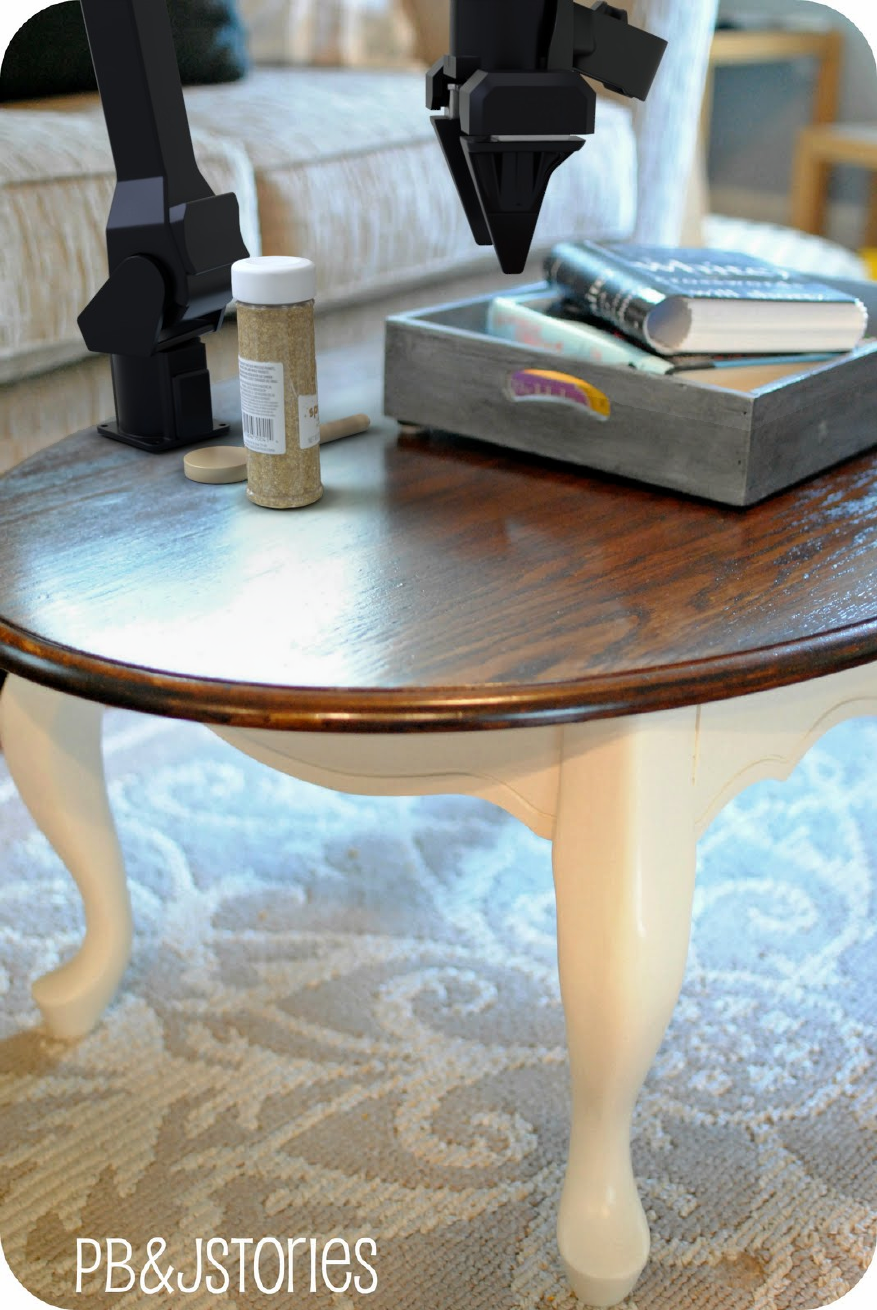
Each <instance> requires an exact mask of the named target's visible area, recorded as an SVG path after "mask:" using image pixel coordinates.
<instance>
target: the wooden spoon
mask: <svg viewBox="0 0 877 1310" xmlns="http://www.w3.org/2000/svg"><path fill="white" fill-rule="evenodd" d="M319 426H320V441H319V445H322V444H325V443H328V442H331V441H336V440H338V439H342V438H345V437H348V436H352V435H356V434H359V433H362V432H365V431H367V430H368V429H369V428H370V426H371V419H370V417H369V416H368V415H367V414H365V413H356V414H353V415H349V416H345V417H341V418H338V419H334V420H331V421H328V422H324V423H319ZM183 471H184V475H185V477H186V478H187V479H189V480H191V481H194V482H197V483H203V484H216V485H218V484H233V483H238V482H241V481H245V480H248V476H247V463H246V446H245V445H244V446H232V445H231V446H230V445H229V446H228V445H217V446H208V447H203V448H198V449H195V450H193V451H190V452H188V453H186V454H185V455H184V457H183Z"/></svg>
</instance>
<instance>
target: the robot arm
mask: <svg viewBox="0 0 877 1310" xmlns="http://www.w3.org/2000/svg"><path fill="white" fill-rule="evenodd" d="M79 2H80V7H81V13H82V17H83V23H84V27H85V32H86V36H87V40H88V41H87V42H88V46H89V50H90V55H91V61H92V66H93V70H94V74H95V79H96V84H97V88H98V89H97V90H98V94H99V98H100V103H101V107H102V108H101V109H102V113H103V117H104V123H105V127H106V131H107V136H108V141H109V146H110V151H111V156H112V160H113V161H112V162H113V165H114V170H115V186H114V191H113V195H112V200H111V203H110V207H109V212H108V216H107V221H106V225H105V230H104V233H105V245H106V260H107V274H108V279H107V280H106V281H105V282H104V283H103V285H102V286H101V287H100V289H98V291H97V292H96V294H95V295H94V296H93V297H92V298H91V300H90V301H89V302H88V304H87V305H86V306H84V308H83V310H82V311H81V312H80V313H79V314H78V316H77V318H76V323H77V326H78V328H79V331H80V334H81V336H82V339H83V341H84V344H85V346H86V349H87V351H89V352H93V353H100V354H101V353H102V354H109V364H110V365H109V366H110V375H111V376H110V377H111V385H112V393H113V405H114V414H115V420H112V421H109V422H105V423H101V424H97V425H96V432H97V434H99V435H102V436H104V437H108V438H111V439H113V440H117V441H120V442H122V443H125V444H127V445H128V444H129V445H131V446H134V447H137V448H140V449H143V450H146V451H149V452H160V451H164V450H168V449H172V448H175V447H180V446H183V445H186V444H190V443H193V442H198V441H201V440H205V439H208V438H212V437H216V436H219V435H223V434H227V433H230V432H231V424H230V423H229V422H226V421H221V420H219V419H215V418H214V413H213V411H214V410H213V399H212V385H211V384H212V383H211V372H210V370H209V368H208V358H207V357H208V355H207V344H206V343H205V342H202V338H201V337H202V336H204V335H207V334H209V333H215V332H218V331H220V330H221V328H222V325H223V320H224V317H225V314H226V313H225V312H226V310H227V306H228V304H230V303H231V302H232V301H233V299H234V297H233V295H232V274H231V267H232V265H233V264H234V263H235V262H236V261H238V260H242V259H246V258H251V254H250V252H249V249H248V248H247V245H246V244H245V241H244V238H243V235H242V231H241V221H240V204H239V201H238V198H237V195H236V192H234V191H229V192H224V193H220V194H216V193H215V192H214V190H213V189H212V187H211V186H210V184H209V182H207V180H206V179H205V177H204V175H203V174H202V172H201V171H200V169H199V167H198V163H197V160H196V155H195V150H194V146H193V140H192V134H191V130H190V124H189V119H188V113H187V107H186V102H185V97H184V92H183V87H182V81H181V76H180V71H179V64H178V60H177V55H176V49H175V48H176V47H175V44H174V38H173V32H172V28H171V27H172V26H171V22H170V17H169V12H168V5H167V0H79ZM448 18H449V19H448V21H449V23H448V25H449V27H448V28H449V30H448V33H449V34H448V53H443V56H440V57H439V58H438V59H437V60H436V61H435V63H434V64H433V65H432V66H431V67H430V68H429V69H428V70H427V71H426V73H425V108H426V109H427V110H429V111H442V108H443V114H434V115H429V121H430V125H431V126H432V128H433V131H434V133H435V136H436V139H437V141H438V144H439V147H440V150H441V153H442V155H443V158H444V160H445V162H446V165H447V168H448V171H449V175H450V177H451V180H452V181H453V182H452V183H453V185H454V187H455V190H456V192H457V195H458V198H459V202H460V204H461V206H462V209H463V212H464V215H465V217H466V220H467V223H468V226H469V229H470V231H471V234H472V237H473V240H474V242H475V244H476V245H477V246H480V247H483V246H484V247H485V246H486V247H487V246H488V247H490V246H493V249H494V252H495V255H496V258H497V261H498V264H499V267H500V270H501V272H502V273H503V274H504V275H521V274H522V273H523V272H524V271H525V268H526V263H527V261H528V257H529V253H530V249H531V246H532V242H533V239H534V235H535V231H536V227H537V223H538V220H539V217H540V213H541V210H542V206H543V202H544V199H545V195H546V192H547V189H548V187H549V182H550V179H551V176H552V174H553V173H554V172H555V171H556V170H557V169H558V168H559V167H560V166H561V165H563V163H565V161H566V160H568V159H569V158H570V157H571V156H572V155H573V154H574V153H575V152H580V151H581V149H583V148H584V146H585V144H586V142H587V139H585V138H583V137H580V136H587V135H594V134H595V129H596V112H597V110H596V109H597V95H598V94H597V92H596V91H595V89H594V88H593V87H592V86H591V85H590V84H589V82H588V81H587V80H586V79H585V78H584V77H587V78H589V79H592V80H594V81H596V82H598V83H600V84H602V86H603V88H604V89H606V90H608V91H611V92H613V93H615V94H618V95H621V96H623V97H626V98H628V99H636V100H638V101H640V102H643V103H644V102H646V100H647V98H648V95H649V93H650V91H651V88H652V85H653V82H654V80H655V77H656V75H657V72H658V70H659V68H660V65H661V62H662V59H663V57H664V54H665V52H666V50H667V46H668V44H669V42H668V40H666V39H665V38H662V37H660V36H659V35H655V34H653V33H651V32H649V31H646V30H643V29H641V28H639V27H636V26H634V25H631V24H629V16H628V10H627V9H624V8H618V7H615V6H613V5H610V4H609V3H608V1H605V0H596V1H595V2H593V4H592V5H591V6H590V7H588V6H586V5H583V4H580V3H578V2H575V1H574V0H449V17H448Z"/></svg>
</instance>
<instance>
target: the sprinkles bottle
mask: <svg viewBox="0 0 877 1310" xmlns="http://www.w3.org/2000/svg"><path fill="white" fill-rule="evenodd" d="M231 274H232V295H233V299H234V300H236V301H234V306H235V308H236V309H237V310H236V321H237V336H238V338H237V339H238V355H237V359H238V374H239V392H240V407H241V420H242V434H243V435H242V437H243V443H244V446H246V463H247V476H248V479H247V486H246V487H245V494H246V498H247V499H248V500H249V501H250V502H252V503H254V504H256V505H257V506H262V507H266V508H273V509H291V508H300V507H305V506H308V505H310V504H312V503H315V502H316V501H318V500H320V498H322V496H323V494H324V484H323V483H322V475H321V453H320V452H321V450H320V444H319V441H320V426H319V425H320V411H319V390H318V388H319V386H318V366H317V365H318V363H317V359H316V342H315V341H316V339H315V335H316V332H315V320H314V319H315V315H314V305H315V303H316V300H315V299H314V298H315V297H316V296H317V292H318V289H317V273H316V264H315V263H314V262H313V261H312V260H311V259H309V258H304V257H299V256H290V255H289V256H288V255H267V256H266V255H265V256H255V257H254V256H253V257H250V258H246V259H242V260H238V261H236V262H235V263H234V264H233V265H232V267H231Z"/></svg>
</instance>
